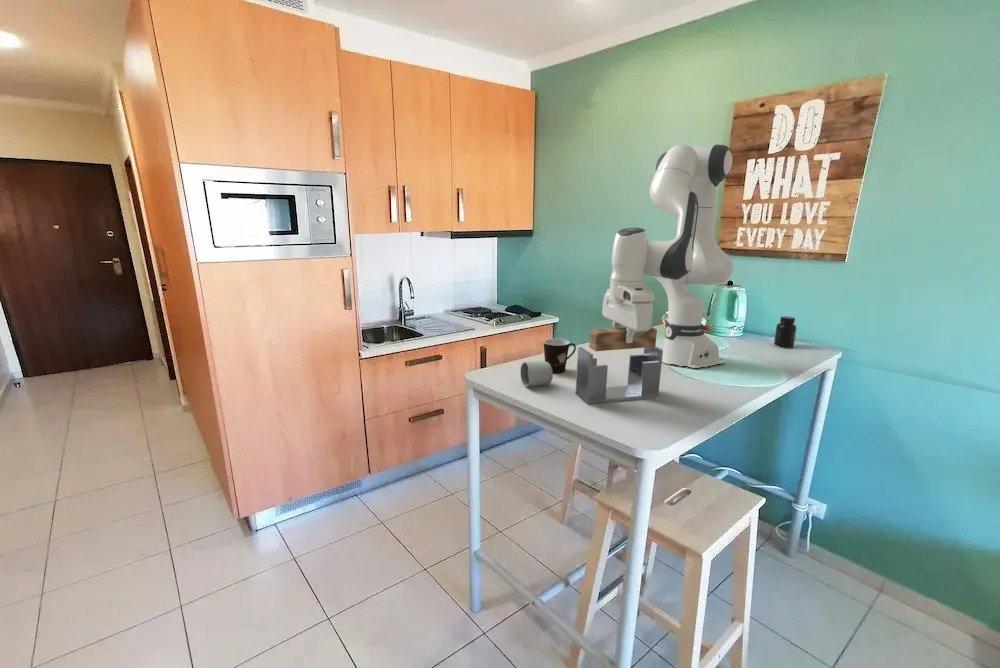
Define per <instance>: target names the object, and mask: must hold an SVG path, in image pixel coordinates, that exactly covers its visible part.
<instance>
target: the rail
mask: <svg viewBox="0 0 1000 668" xmlns="http://www.w3.org/2000/svg"><path fill="white" fill-rule="evenodd" d="M626 329H627V327H621V328H613V327H612V328H611V327H610V328H600V329H599V328H598V329H597V328H595V329H590V331H589V346H588V347H589V348H590V349H591V350H593V351H594V352H602V351H603V352H606V351H614V350H615V351H616V350H617V351H618V350H632V349H644V348H647V347H655V346H656V343H657V333H658V329H657V328H655V327H652V326H651V328H650V329H649V331H645V332H637V331H636V332H635V334H634V336H633V341H632V343H626V342H624V336H626V334H627V330H626Z"/></svg>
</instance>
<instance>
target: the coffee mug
mask: <svg viewBox="0 0 1000 668" xmlns="http://www.w3.org/2000/svg"><path fill="white" fill-rule="evenodd" d="M542 343H543V344H542V345H543V353H544V354H543V355H544V356H543V357H544V361H545V362H548V363H550V365H551V367H552V370H553V375H555V374H556V375H560V374H564V373H565V372H566V368H567V367H566V365H567V360H569V359H570V358H571V357H572V356H573V355H574V353H575V352H576V349H577V345H576V344H575V343H572V342H570V341H569V340H567V339H564V338H547V339H544V340H543V342H542ZM570 346H573V351H572V352H571V353H570V354H569V347H570Z"/></svg>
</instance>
